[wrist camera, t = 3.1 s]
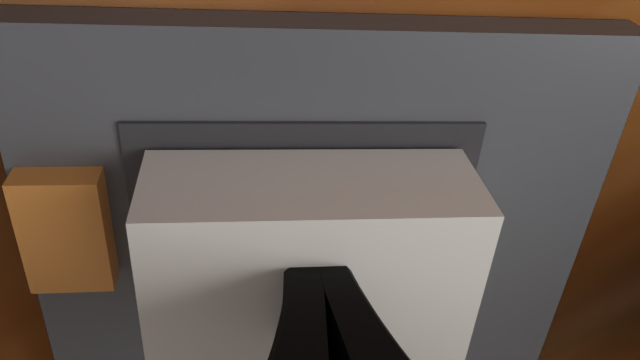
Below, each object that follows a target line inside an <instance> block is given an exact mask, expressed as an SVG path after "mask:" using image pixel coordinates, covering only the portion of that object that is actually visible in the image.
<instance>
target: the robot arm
mask: <svg viewBox="0 0 640 360" xmlns="http://www.w3.org/2000/svg"><path fill="white" fill-rule="evenodd" d="M268 360H410V358H409V357H408V356H407V355H406V353H405V352H404V351H403V349H402V348H401V347H400V345H399V344H398V343H397V341H396V340H395V339H394V337H393V336H392V335H391V333H390V332H389V330H388V329H387V328H386V326H385V325H384V323H383V322H382V321H381V319H380V318H379V316H378V315H377V313H376V312H375V310H374V309H373V307H372V305H371V304H370V302H369V301H368V299H367V298H366V296H365V294H364V293H363V291H362V289H361V288H360V286H359V284H358V282H357V281H356V279H355V277H354V275H353V273H352V271H351V270H350V269H349V268H348V267H347V266H323V267H289V268H288V269H287V270H285V271H284V278H283V302H282V308H281V313H280V318H279V322H278V326H277V329H276V333H275V337H274V341H273V344H272V348H271V351H270V354H269V357H268Z"/></svg>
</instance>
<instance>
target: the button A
mask: <svg viewBox="0 0 640 360" xmlns="http://www.w3.org/2000/svg"><path fill="white" fill-rule="evenodd" d="M503 220H504V215H503V213H502V212H501V210H500V209H499V207H498V205H497V204H496V202H495V201H494V199H493V197H492V196H491V194H490V193H489V191H488V189H487V188H486V186H485V185H484V183H483V181H482V180H481V178H480V177H479V175H478V173H477V172H476V170H475V169H474V167H473V165H472V164H471V162H470V161H469V159H468V157H467V156H466V154H465V153H464V151H463V149H293V150H145V153H144V156H143V160H142V164H141V168H140V171H139V175H138V179H137V183H136V186H135V190H134V194H133V198H132V201H131V205H130V209H129V213H128V216H127V220H126V231H127V238H128V245H129V252H130V259H131V266H132V273H133V280H134V287H135V294H136V301H137V308H138V315H139V322H140V329H141V336H142V343H143V350H144V357H145V360H268V357H269V354H270V351H271V348H272V344H273V341H274V337H275V333H276V329H277V326H278V322H279V318H280V313H281V308H282V302H283V278H284V271H285V270H287V269H288V268H289V267H323V266H347V267H348V268H349V269H350V270H351V271H352V273H353V275H354V277H355V279H356V281H357V282H358V284H359V286H360V288H361V289H362V291H363V293H364V294H365V296H366V298H367V299H368V301H369V302H370V304H371V305H372V307H373V309H374V310H375V312H376V313H377V315H378V316H379V318H380V319H381V321H382V322H383V323H384V325H385V326H386V328H387V329H388V330H389V332H390V333H391V335H392V336H393V337H394V339H395V340H396V341H397V343H398V344H399V345H400V347H401V348H402V349H403V351H404V352H405V353H406V355H407V356H408V357H409V358H410V360H465V358H466V354H467V351H468V347H469V343H470V340H471V336H472V333H473V329H474V325H475V322H476V318H477V315H478V311H479V307H480V304H481V300H482V296H483V293H484V289H485V286H486V282H487V278H488V275H489V271H490V267H491V264H492V260H493V257H494V253H495V249H496V246H497V242H498V238H499V235H500V231H501V228H502V224H503Z"/></svg>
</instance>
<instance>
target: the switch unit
mask: <svg viewBox="0 0 640 360" xmlns="http://www.w3.org/2000/svg"><path fill="white" fill-rule="evenodd" d="M639 85H640V26H639V25H637V24H635V23H633V22H632V21H630V20H602V19H562V18H522V17H482V16H442V15H401V14H361V13H321V12H281V11H241V10H201V9H160V8H120V7H80V6H40V5H0V153H1V157H2V161H3V164H4V168H5V172H6V176H7V178H6V180H5V182H4V183H3V185H2V188H3V192H4V196H5V200H6V203H7V207H8V211H9V214H10V218H11V222H12V226H13V229H14V233H15V237H16V240H17V244H18V248H19V252H20V255H21V259H22V263H23V267H24V270H25V274H26V278H27V281H28V285H29V289H30V293H31V294H37V295H38V299H39V302H40V306H41V310H42V314H43V318H44V322H45V325H46V329H47V333H48V337H49V341H50V344H51V348H52V352H53V356H54V360H145V357H144V350H143V343H142V336H141V329H140V322H139V315H138V308H137V301H136V294H135V287H134V280H133V273H132V266H131V259H130V252H129V245H128V238H127V231H126V220H127V216H128V213H129V209H130V205H131V201H132V198H133V194H134V190H135V186H136V183H137V179H138V175H139V171H140V168H141V164H142V160H143V156H144V153H145V150H293V149H463V151H464V153H465V154H466V156H467V157H468V159H469V161H470V162H471V164H472V165H473V167H474V169H475V170H476V172H477V173H478V175H479V177H480V178H481V180H482V181H483V183H484V185H485V186H486V188H487V189H488V191H489V193H490V194H491V196H492V197H493V199H494V201H495V202H496V204H497V205H498V207H499V209H500V210H501V212H502V213H503V215H504V220H503V224H502V228H501V231H500V235H499V238H498V242H497V246H496V249H495V253H494V257H493V260H492V264H491V267H490V271H489V275H488V278H487V282H486V286H485V289H484V293H483V296H482V300H481V304H480V307H479V311H478V315H477V318H476V322H475V325H474V329H473V333H472V336H471V340H470V343H469V347H468V351H467V354H466V358H465V360H538V358H539V355H540V352H541V349H542V347H543V344H544V341H545V339H546V336H547V333H548V331H549V328H550V325H551V323H552V320H553V317H554V314H555V312H556V309H557V306H558V304H559V301H560V298H561V296H562V293H563V290H564V287H565V285H566V282H567V279H568V277H569V274H570V271H571V269H572V266H573V263H574V261H575V258H576V255H577V252H578V250H579V247H580V244H581V242H582V239H583V236H584V234H585V231H586V228H587V226H588V223H589V220H590V217H591V215H592V212H593V209H594V207H595V204H596V201H597V199H598V196H599V193H600V190H601V188H602V185H603V182H604V180H605V177H606V174H607V172H608V169H609V166H610V164H611V161H612V158H613V155H614V153H615V150H616V147H617V145H618V142H619V139H620V137H621V134H622V131H623V129H624V126H625V123H626V120H627V118H628V115H629V112H630V110H631V107H632V104H633V102H634V99H635V96H636V93H637V91H638V88H639Z"/></svg>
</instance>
